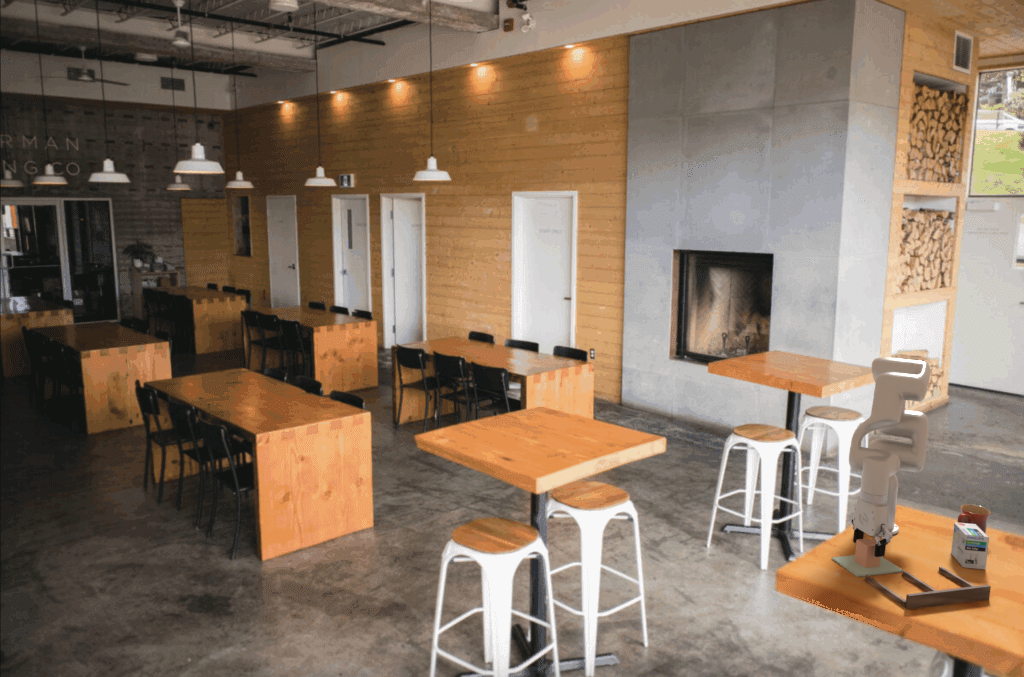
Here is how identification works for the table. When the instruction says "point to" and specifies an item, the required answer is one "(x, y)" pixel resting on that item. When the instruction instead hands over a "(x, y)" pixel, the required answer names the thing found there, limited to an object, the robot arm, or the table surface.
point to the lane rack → (935, 592)
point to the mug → (974, 516)
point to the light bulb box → (970, 545)
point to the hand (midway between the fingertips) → (868, 549)
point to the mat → (860, 571)
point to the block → (866, 553)
